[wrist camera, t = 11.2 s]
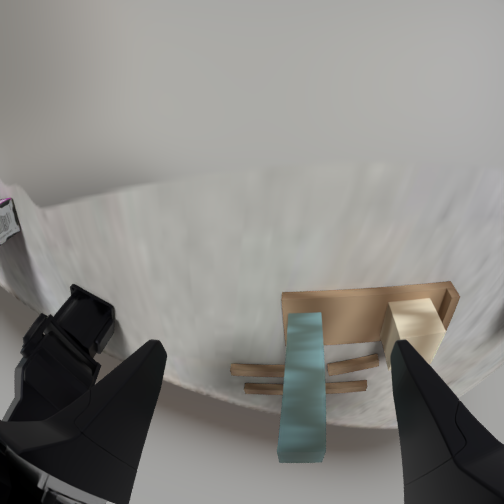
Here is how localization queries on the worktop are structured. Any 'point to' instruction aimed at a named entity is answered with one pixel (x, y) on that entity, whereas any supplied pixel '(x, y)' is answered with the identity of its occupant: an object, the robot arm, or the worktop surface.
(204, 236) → the worktop surface
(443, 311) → the wooden base with blocks
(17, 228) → the candy bar box
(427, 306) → the maple block
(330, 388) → the broken lane
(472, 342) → the worktop surface
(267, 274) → the worktop surface
